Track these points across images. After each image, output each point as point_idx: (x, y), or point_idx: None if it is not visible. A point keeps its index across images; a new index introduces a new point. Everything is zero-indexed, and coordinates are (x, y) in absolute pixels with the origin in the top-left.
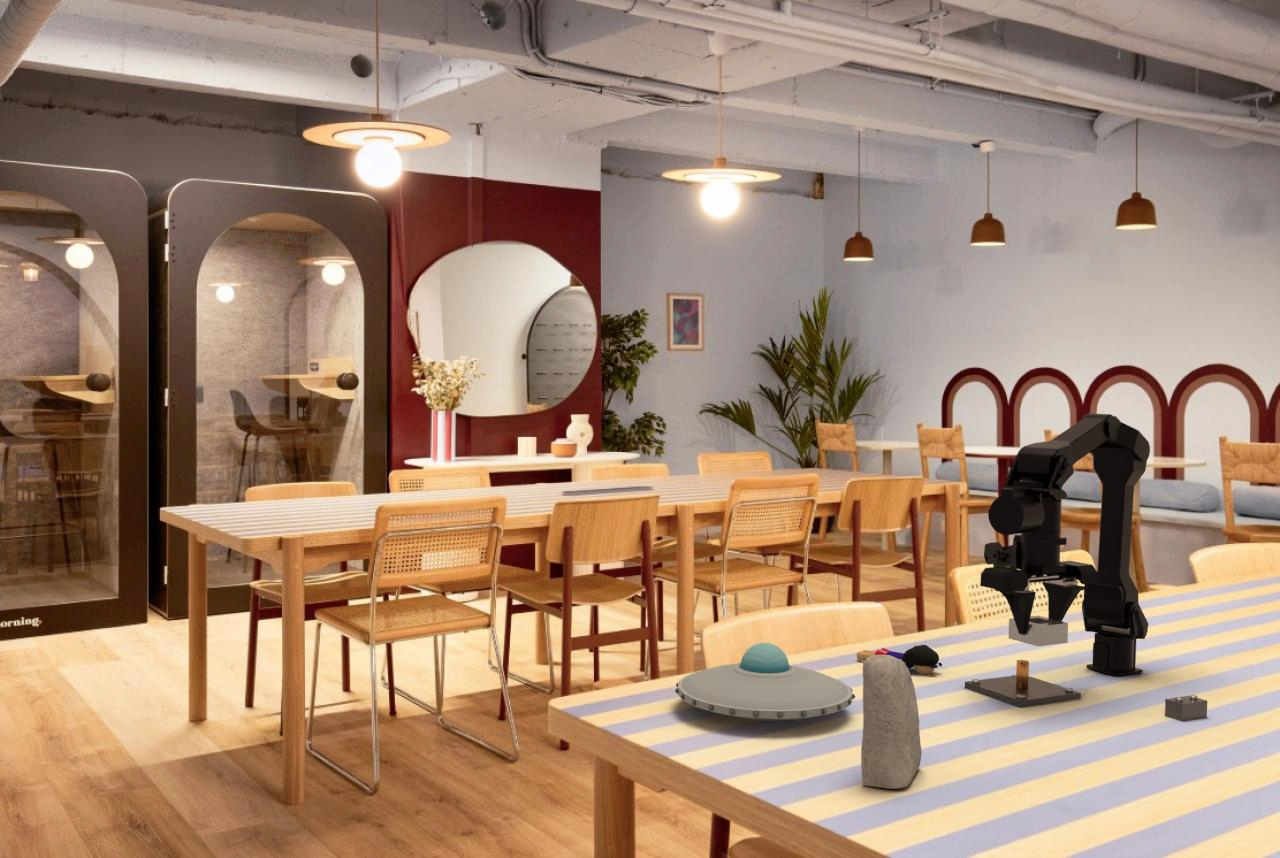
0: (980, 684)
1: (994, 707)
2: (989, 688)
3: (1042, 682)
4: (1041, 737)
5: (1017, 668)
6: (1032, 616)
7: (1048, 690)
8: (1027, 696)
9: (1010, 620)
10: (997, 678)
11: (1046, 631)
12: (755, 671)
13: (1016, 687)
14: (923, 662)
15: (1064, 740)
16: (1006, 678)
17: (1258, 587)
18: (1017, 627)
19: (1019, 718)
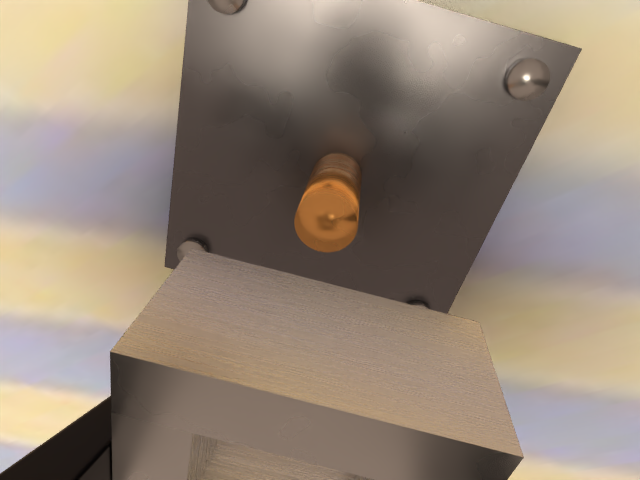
0: (219, 29)
1: (100, 201)
2: (200, 100)
3: (479, 192)
4: (23, 392)
5: (302, 196)
6: (429, 441)
7: (369, 264)
8: (230, 256)
9: (116, 357)
10: (390, 11)
11: None
12: None
13: (310, 166)
14: None
15: (56, 425)
16: (426, 43)
17: None
18: (102, 407)
19: (85, 302)
